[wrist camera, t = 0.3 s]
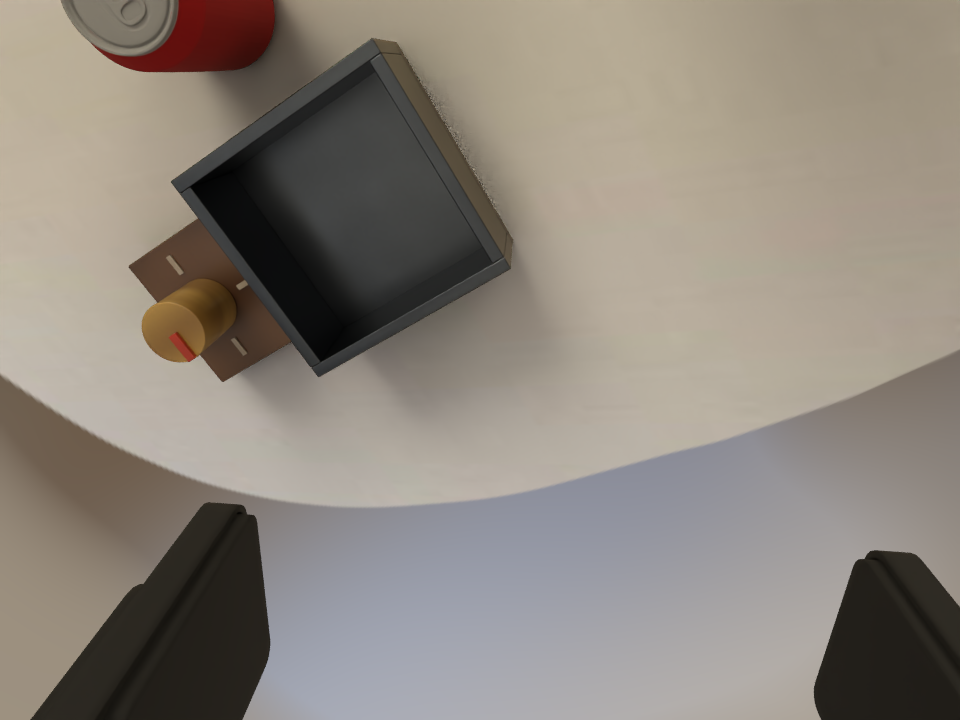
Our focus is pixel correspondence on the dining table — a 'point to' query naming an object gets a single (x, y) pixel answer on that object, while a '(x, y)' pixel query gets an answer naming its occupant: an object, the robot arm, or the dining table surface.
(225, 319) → the tap knob
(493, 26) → the dining table surface
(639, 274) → the dining table surface
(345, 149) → the basin
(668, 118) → the dining table surface
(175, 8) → the beverage can
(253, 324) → the panel
